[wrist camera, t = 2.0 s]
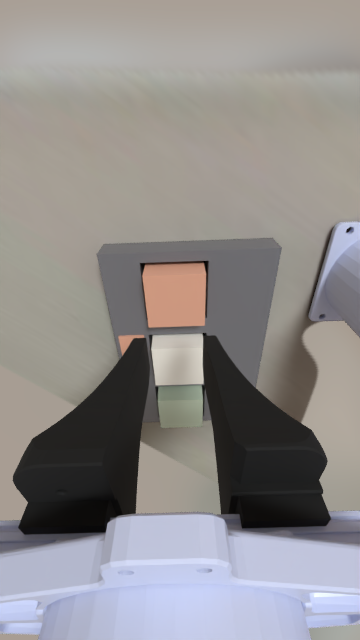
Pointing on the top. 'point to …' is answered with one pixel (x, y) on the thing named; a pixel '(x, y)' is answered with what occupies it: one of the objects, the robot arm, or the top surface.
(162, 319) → the terracotta key
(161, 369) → the cream key
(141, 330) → the keypad
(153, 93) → the top surface
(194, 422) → the sage key
